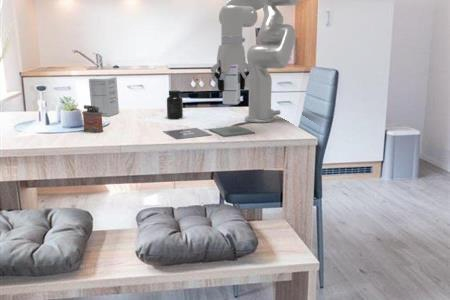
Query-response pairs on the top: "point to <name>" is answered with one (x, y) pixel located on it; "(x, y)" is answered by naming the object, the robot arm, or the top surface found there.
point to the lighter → (92, 119)
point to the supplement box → (104, 95)
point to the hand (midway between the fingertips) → (231, 89)
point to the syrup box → (232, 86)
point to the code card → (187, 133)
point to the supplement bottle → (174, 105)
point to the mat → (231, 131)
